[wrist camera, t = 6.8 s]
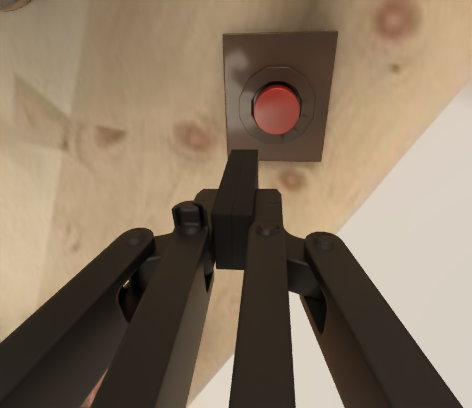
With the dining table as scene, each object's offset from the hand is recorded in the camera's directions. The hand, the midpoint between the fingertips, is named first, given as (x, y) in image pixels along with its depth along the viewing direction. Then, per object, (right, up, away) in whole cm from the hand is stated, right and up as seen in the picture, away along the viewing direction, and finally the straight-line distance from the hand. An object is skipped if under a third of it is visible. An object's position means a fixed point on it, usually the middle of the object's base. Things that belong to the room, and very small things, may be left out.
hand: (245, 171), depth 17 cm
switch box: (+4, +9, +14) cm, 17 cm away
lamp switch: (+3, +7, +10) cm, 13 cm away
